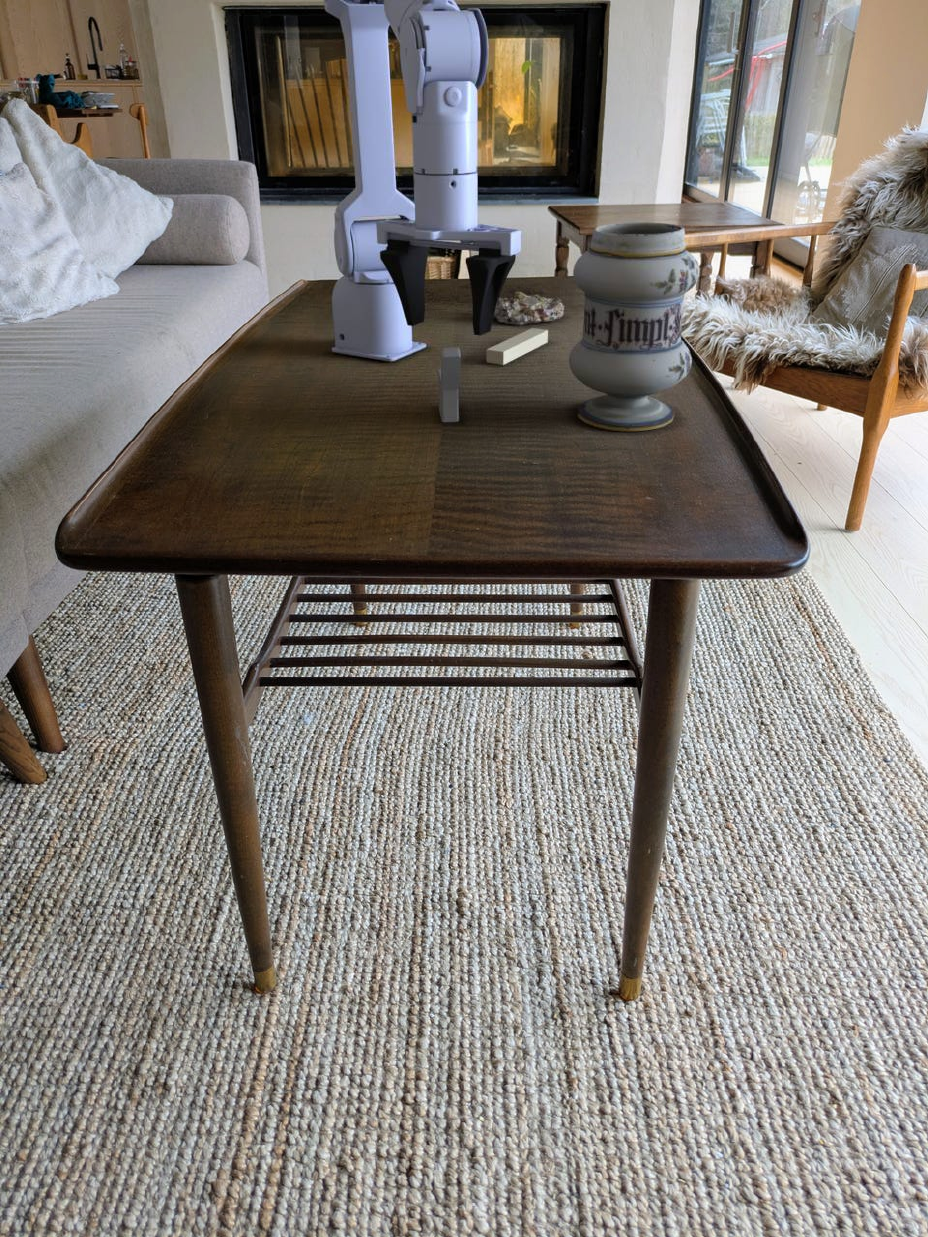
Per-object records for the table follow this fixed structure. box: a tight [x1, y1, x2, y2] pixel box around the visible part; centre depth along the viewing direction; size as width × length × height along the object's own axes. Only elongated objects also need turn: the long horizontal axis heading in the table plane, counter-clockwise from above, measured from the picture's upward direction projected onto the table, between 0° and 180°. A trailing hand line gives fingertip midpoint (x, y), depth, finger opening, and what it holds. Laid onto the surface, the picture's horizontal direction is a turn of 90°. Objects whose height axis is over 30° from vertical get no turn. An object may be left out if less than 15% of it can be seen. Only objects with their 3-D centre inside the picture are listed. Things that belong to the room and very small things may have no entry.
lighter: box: [437, 346, 462, 423], centre depth 90 cm, size 7×2×8 cm, turn 6°
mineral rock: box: [493, 291, 565, 326], centre depth 128 cm, size 11×4×8 cm
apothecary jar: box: [568, 221, 701, 433], centre depth 88 cm, size 12×12×18 cm
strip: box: [485, 327, 549, 366], centre depth 113 cm, size 2×12×2 cm, turn 149°
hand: (448, 328), depth 87 cm, fingers open, 7 cm apart
